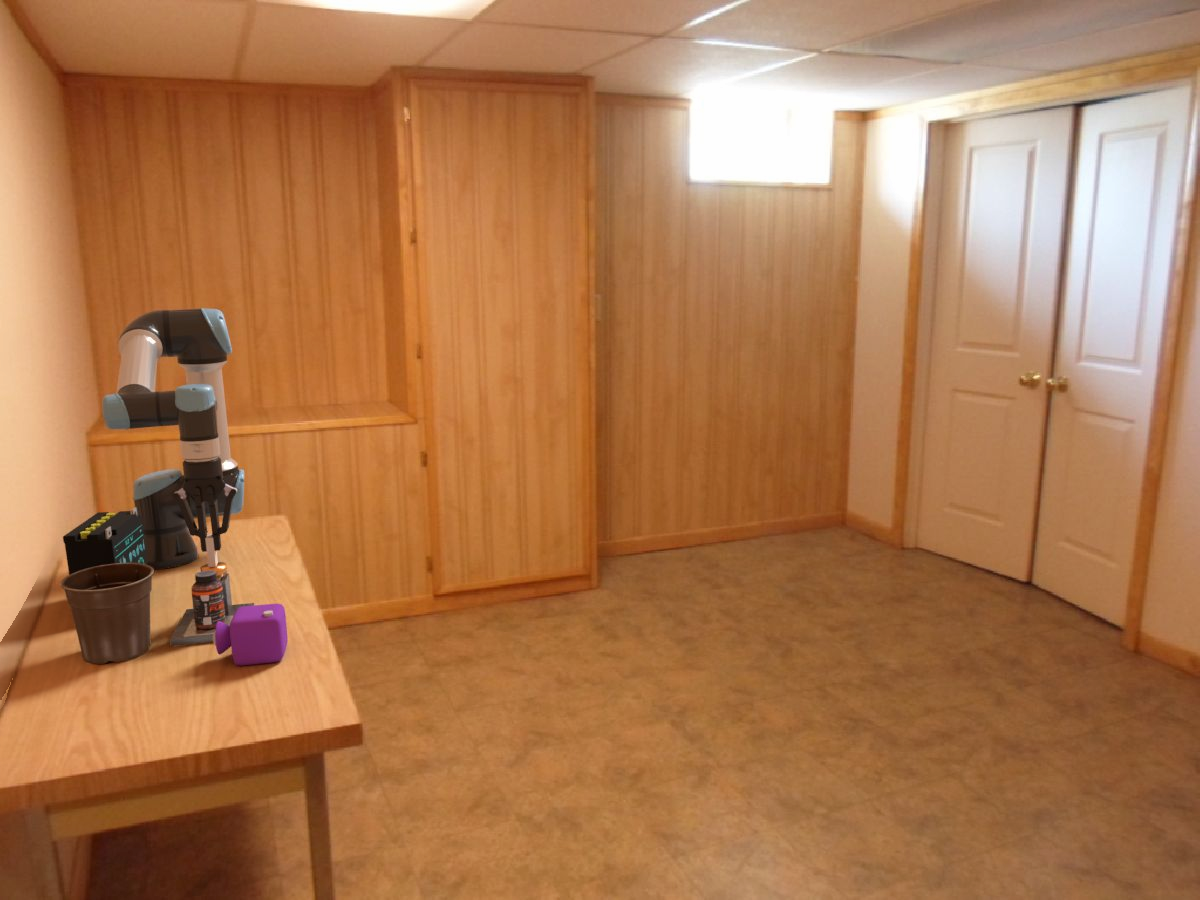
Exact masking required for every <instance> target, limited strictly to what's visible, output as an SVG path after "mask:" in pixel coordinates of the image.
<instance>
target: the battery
mask: <svg viewBox="0 0 1200 900" xmlns="http://www.w3.org/2000/svg"><path fill="white" fill-rule="evenodd" d="M62 540H63V541H62V542H63V544H64V549H65V554H66V555H65V556H66V563H67V571H68V576H69V575H70V574H73V573H75V572H78V571H81V570H84V569H87V568H91V567H95V566H100V565H107V564H116V563H141V564H146V565H147V557H146V549H145V541H144V533H143V525H142V515H137V508H136V507H135V506H134V508H132V509H131V510H123V511H122V510H120V511H118V512H117V513H115V512H108V511H103V512H101V511H100V512H99V511H98V512H97V513H95V514H94V515H92V516H91V517H89V518H87V519H86V520H85V521H83V522H81V524H79V525H77V526H76V527H75V528H73V529H72V530H70V531H69V532H67V533H66V534H64V535H63V536H62Z"/></svg>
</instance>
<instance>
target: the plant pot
mask: <svg viewBox="0 0 1200 900" xmlns="http://www.w3.org/2000/svg"><path fill="white" fill-rule="evenodd" d="M154 573H155V569H153V568H152V567H151V566H149V565H146V564H141V563H116V564H107V565H100V566H95V567H91V568H87V569H84V570H81V571H78V572H75V573H73V574H70V575H69V574H68V575H67V576H66V577H64V578H63V579H62V580H61V581H60V587H61V589H63V590H64V593H65V597H66V600H67V603H68V605H70V610H71V613H72V617H73V621H74V626H75V630H76V634H77V638H78V643H79V647H80V652H81V656H82V659H83V660H84V661H86V662H87V663H91V664H97V665H99V664H100V665H105V664H106V663H108V662H114V663H120V662H125V661H127V660H131V659H135V658H136V657H139V656H141V655H142V654H144V653H146V652H147V651H149V649H150V646H151V644H152V643H151V592H152V587H153V586H152V585H153V583H152V582H153V581H152V580H153V579H152V578H153V575H154Z"/></svg>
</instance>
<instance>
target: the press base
mask: <svg viewBox="0 0 1200 900" xmlns="http://www.w3.org/2000/svg"><path fill="white" fill-rule="evenodd" d="M218 581H220V582H221V583H222V589H223V599H224V610H225V624H226V625H228V626H230V623H231V620H232V618H233V616H234V614H235V612H236V610H237V609H238V608H240V607H244V606H254V605H255V603H254V602H249V603H239V604H233V601H232V600H233V599H232V591H231V590H232V589H231V582H230V581H231V580H230V573H227V574H226V575H225V576H223V577H221V580H218ZM215 630H216V628H212V629H200V628H197V627H196V626H195V620H194V610H193V608H186V609H185V611H184V613H183V614H182V617H181V618H180V621H179V622H178V624H177V626H176V628H175V630H173V631H174V632H173V634H172V635H171V637H170V638H169V643H170V644H169V645H170V647H179V646H180V647H181V646H188V645H189V646H190V645H199V644H209V643H214V642H213V634H214V632H215Z"/></svg>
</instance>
